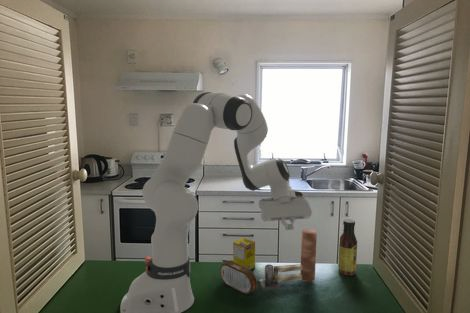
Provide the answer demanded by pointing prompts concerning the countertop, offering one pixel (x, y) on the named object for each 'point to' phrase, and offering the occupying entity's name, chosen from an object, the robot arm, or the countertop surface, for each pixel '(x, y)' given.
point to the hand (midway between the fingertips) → (289, 229)
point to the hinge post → (268, 280)
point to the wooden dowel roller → (306, 260)
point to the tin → (238, 277)
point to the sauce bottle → (348, 249)
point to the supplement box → (244, 253)
